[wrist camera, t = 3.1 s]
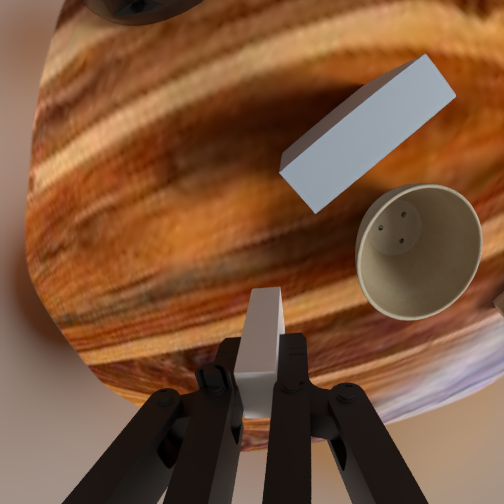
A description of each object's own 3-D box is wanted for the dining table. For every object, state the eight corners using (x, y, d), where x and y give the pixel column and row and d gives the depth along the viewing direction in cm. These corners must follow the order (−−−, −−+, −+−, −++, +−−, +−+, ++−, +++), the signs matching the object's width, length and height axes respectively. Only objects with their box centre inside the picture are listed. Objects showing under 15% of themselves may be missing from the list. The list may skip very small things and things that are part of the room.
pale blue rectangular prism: (282, 153, 24) (279, 172, 13) (364, 84, 21) (425, 53, 10) (302, 175, 25) (315, 213, 14) (383, 107, 22) (456, 96, 11)
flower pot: (382, 297, 28) (404, 343, 21) (316, 221, 26) (326, 254, 19) (459, 231, 25) (499, 261, 18) (402, 145, 23) (441, 153, 16)
